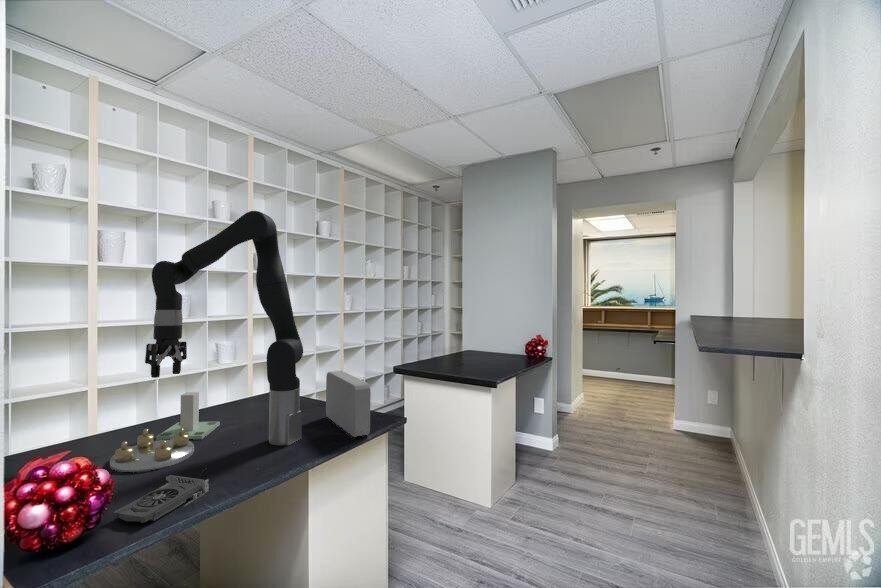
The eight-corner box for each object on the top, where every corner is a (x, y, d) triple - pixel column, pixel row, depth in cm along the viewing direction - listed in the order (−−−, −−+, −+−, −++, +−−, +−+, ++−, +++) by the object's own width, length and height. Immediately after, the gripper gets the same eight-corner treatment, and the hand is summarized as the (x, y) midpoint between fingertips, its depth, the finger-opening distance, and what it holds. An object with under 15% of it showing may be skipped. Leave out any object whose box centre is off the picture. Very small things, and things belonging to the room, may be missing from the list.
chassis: (205, 443, 130) (206, 422, 130) (172, 471, 110) (173, 447, 110) (137, 445, 127) (137, 424, 127) (91, 474, 107) (91, 449, 107)
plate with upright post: (219, 424, 147) (220, 388, 147) (202, 439, 133) (202, 398, 133) (178, 425, 145) (178, 388, 145) (155, 440, 131) (156, 399, 131)
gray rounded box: (376, 436, 139) (377, 383, 139) (355, 440, 135) (356, 386, 134) (344, 413, 162) (345, 368, 162) (325, 417, 158) (326, 370, 158)
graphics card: (169, 472, 103) (209, 477, 100) (170, 487, 103) (209, 492, 100) (99, 508, 87) (145, 515, 84) (100, 525, 87) (145, 533, 84)
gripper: (161, 324, 123) (159, 379, 122) (195, 324, 137) (193, 372, 136) (138, 324, 123) (136, 378, 123) (174, 324, 138) (172, 372, 137)
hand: (166, 375), depth 129 cm, fingers open, 8 cm apart
